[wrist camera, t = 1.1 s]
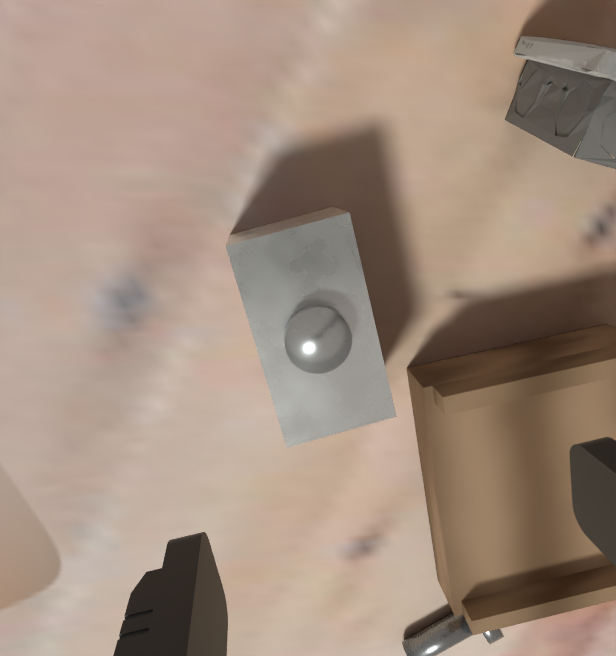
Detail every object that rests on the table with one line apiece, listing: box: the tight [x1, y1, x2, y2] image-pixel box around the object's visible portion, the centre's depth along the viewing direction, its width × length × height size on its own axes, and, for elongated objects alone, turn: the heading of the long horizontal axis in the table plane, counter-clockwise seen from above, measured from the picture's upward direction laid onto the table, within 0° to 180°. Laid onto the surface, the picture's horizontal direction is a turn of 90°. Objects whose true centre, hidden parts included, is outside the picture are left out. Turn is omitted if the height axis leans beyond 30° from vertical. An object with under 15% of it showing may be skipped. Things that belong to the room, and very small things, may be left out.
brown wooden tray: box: [407, 324, 616, 635], centre depth 31 cm, size 12×15×4 cm
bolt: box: [402, 613, 504, 656], centre depth 34 cm, size 6×3×3 cm, turn 121°
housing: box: [226, 207, 396, 448], centre depth 26 cm, size 6×10×6 cm, turn 14°
